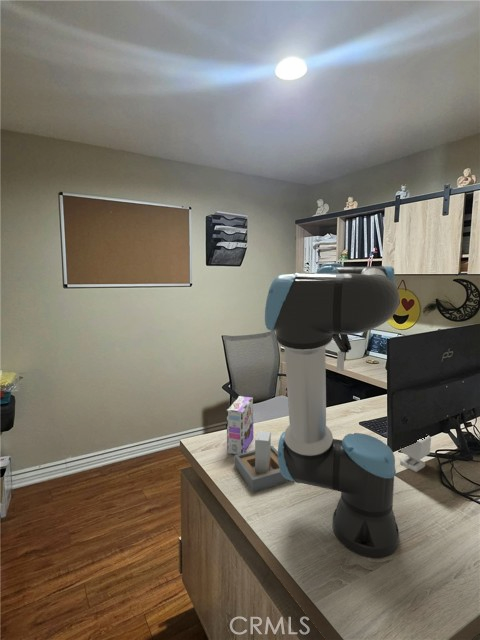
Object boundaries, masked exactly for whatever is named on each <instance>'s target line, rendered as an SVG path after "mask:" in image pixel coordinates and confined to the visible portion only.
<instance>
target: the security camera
mask: <svg viewBox="0 0 480 640" xmlns="http://www.w3.org/2000/svg"><path fill="white" fill-rule="evenodd" d="M422 439H423V440H422ZM422 439H419V440H417V442H416V443H414V444H412V445H410V446H408V447H406V448H403V449H401V448H400V452H401V453H402V454H404V455H406V456H405V457H403V458H401V459H400V462H399V465H401V466H403V467H406V468H407V469H410V470H411V471H413V472H416V473H417V472H419V471H420V470H422V469H424V468H425V466H426V462H425V461H423V460H422V459H423V458H425V457H426V456H428V455H429V454H430V453H431V445H432V443H431V441H432V438H431V435H428V436H427V437H425V439H424V438H422Z"/></svg>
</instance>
